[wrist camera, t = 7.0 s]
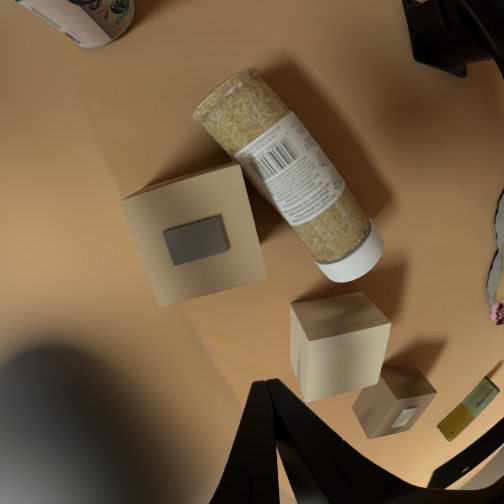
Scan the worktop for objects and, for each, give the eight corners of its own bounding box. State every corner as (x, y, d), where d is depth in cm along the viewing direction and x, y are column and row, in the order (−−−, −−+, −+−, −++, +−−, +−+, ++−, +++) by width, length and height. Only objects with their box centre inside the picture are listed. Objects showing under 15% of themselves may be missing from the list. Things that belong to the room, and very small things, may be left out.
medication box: (485, 374, 33) (498, 386, 29) (488, 379, 33) (501, 391, 29) (435, 426, 34) (446, 440, 31) (440, 429, 35) (450, 443, 31)
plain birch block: (360, 290, 22) (391, 322, 18) (353, 348, 24) (377, 383, 20) (289, 302, 22) (308, 341, 17) (290, 361, 24) (305, 402, 19)
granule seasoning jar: (193, 118, 17) (319, 267, 21) (185, 109, 12) (342, 297, 17) (249, 74, 16) (366, 228, 20) (259, 53, 12) (398, 249, 16)
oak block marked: (232, 161, 18) (240, 165, 13) (254, 247, 20) (268, 279, 15) (143, 187, 18) (119, 201, 13) (171, 270, 20) (159, 308, 15)
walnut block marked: (414, 364, 27) (438, 393, 22) (391, 402, 29) (409, 431, 24) (374, 367, 26) (398, 401, 21) (351, 406, 28) (368, 440, 23)
